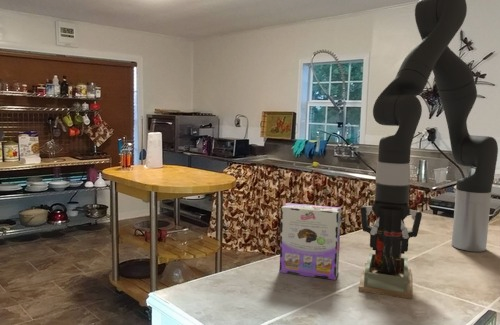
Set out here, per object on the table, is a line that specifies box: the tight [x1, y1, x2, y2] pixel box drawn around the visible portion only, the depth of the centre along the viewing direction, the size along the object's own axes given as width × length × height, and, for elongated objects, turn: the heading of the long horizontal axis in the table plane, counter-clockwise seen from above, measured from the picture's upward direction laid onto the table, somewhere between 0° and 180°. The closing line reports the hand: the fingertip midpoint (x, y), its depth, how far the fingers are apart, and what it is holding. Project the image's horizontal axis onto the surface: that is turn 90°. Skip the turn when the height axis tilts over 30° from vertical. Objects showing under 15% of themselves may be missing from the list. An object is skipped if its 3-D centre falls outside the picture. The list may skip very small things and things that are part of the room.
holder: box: [358, 252, 413, 300], centre depth 100 cm, size 16×11×4 cm
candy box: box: [278, 202, 342, 280], centre depth 104 cm, size 14×6×16 cm, turn 71°
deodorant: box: [374, 207, 405, 273], centre depth 102 cm, size 6×6×15 cm
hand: (388, 250), depth 102 cm, fingers closed on deodorant, 6 cm apart
